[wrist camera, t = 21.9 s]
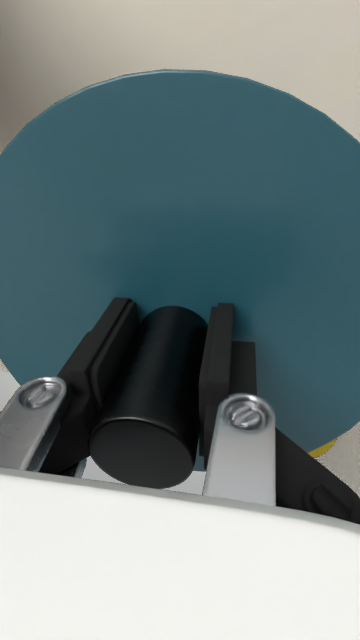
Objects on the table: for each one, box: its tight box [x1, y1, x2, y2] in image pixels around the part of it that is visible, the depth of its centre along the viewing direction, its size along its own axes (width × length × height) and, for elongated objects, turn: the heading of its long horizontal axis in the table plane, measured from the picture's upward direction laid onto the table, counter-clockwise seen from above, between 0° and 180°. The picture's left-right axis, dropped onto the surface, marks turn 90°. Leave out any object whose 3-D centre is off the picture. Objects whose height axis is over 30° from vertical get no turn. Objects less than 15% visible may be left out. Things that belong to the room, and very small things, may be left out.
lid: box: [0, 69, 360, 489], centre depth 11 cm, size 15×15×6 cm
